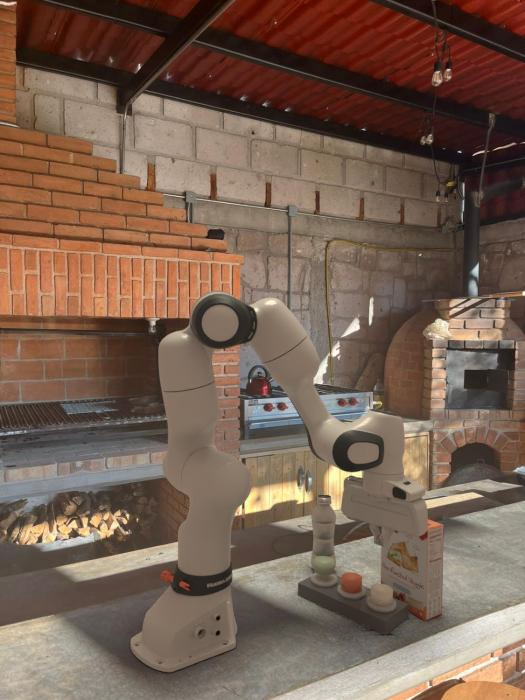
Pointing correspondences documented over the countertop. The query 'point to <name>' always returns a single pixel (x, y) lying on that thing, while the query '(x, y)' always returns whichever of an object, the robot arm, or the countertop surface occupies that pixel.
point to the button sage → (324, 565)
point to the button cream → (381, 594)
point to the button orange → (351, 582)
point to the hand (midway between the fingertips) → (381, 544)
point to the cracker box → (415, 569)
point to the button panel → (353, 603)
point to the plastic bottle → (323, 529)
